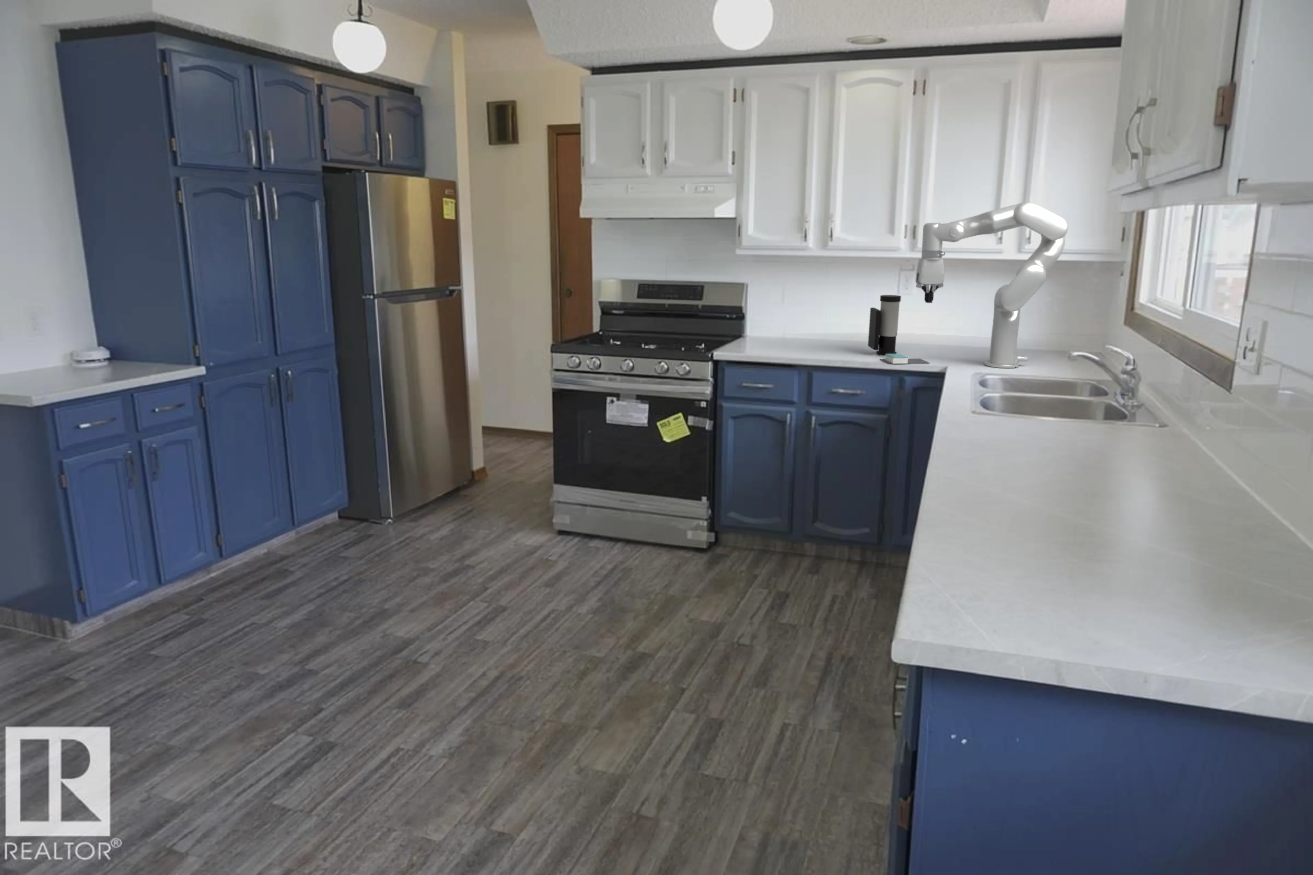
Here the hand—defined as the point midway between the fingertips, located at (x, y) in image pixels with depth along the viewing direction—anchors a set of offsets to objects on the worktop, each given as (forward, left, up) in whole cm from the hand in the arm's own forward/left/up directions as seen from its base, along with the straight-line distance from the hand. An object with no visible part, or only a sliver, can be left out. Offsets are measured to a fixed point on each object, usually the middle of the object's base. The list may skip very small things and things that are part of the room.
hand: (928, 302), depth 345 cm
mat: (+7, -2, -24) cm, 25 cm away
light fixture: (+9, -21, -24) cm, 33 cm away
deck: (+8, 0, -22) cm, 24 cm away
